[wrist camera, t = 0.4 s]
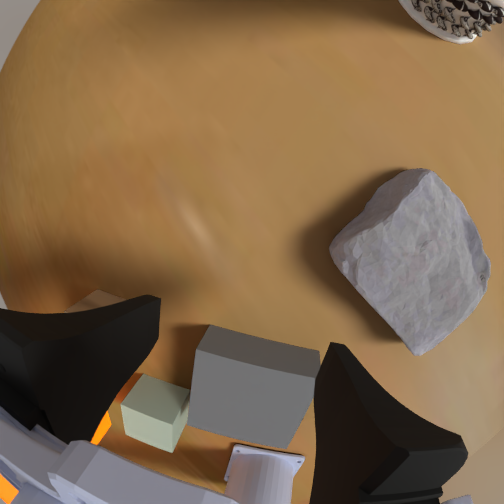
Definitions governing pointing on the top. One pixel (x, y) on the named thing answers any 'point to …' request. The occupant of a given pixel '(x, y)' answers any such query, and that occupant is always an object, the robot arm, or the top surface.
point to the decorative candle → (455, 17)
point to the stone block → (415, 258)
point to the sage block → (155, 412)
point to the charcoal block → (251, 387)
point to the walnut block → (94, 301)
